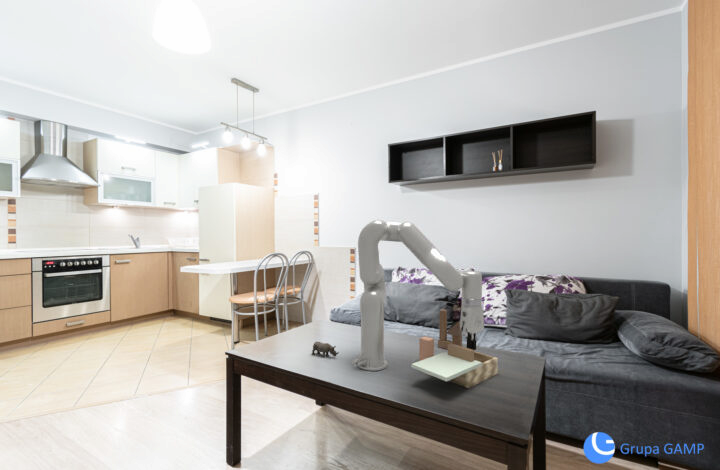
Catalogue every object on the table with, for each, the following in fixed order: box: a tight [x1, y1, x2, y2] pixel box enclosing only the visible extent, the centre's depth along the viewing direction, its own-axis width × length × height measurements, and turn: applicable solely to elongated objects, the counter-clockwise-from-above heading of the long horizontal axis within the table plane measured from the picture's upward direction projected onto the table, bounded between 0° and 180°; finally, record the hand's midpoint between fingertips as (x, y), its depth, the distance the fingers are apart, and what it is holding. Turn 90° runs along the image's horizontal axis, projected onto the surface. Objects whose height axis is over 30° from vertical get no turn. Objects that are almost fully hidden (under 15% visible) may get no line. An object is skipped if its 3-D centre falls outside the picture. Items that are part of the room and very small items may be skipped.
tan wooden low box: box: [448, 350, 499, 389], centre depth 125 cm, size 20×14×6 cm
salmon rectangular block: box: [418, 336, 435, 361], centre depth 138 cm, size 4×4×10 cm
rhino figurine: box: [311, 341, 339, 358], centre depth 145 cm, size 4×14×6 cm, turn 61°
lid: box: [410, 343, 482, 382], centre depth 117 cm, size 21×15×5 cm
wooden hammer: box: [437, 308, 463, 350], centre depth 155 cm, size 4×11×18 cm, turn 51°
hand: (471, 349), depth 128 cm, fingers closed
